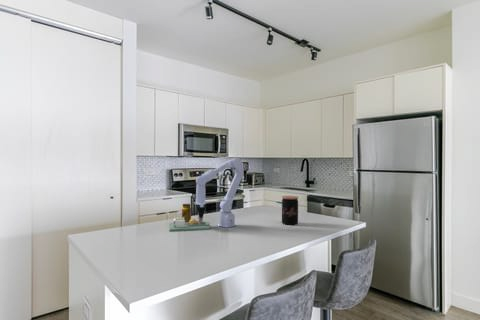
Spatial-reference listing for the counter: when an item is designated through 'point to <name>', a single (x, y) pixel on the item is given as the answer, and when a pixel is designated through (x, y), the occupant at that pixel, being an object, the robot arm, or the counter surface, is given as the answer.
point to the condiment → (186, 212)
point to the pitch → (190, 227)
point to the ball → (192, 221)
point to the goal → (179, 222)
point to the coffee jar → (290, 210)
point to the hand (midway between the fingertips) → (200, 216)
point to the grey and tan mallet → (200, 219)
